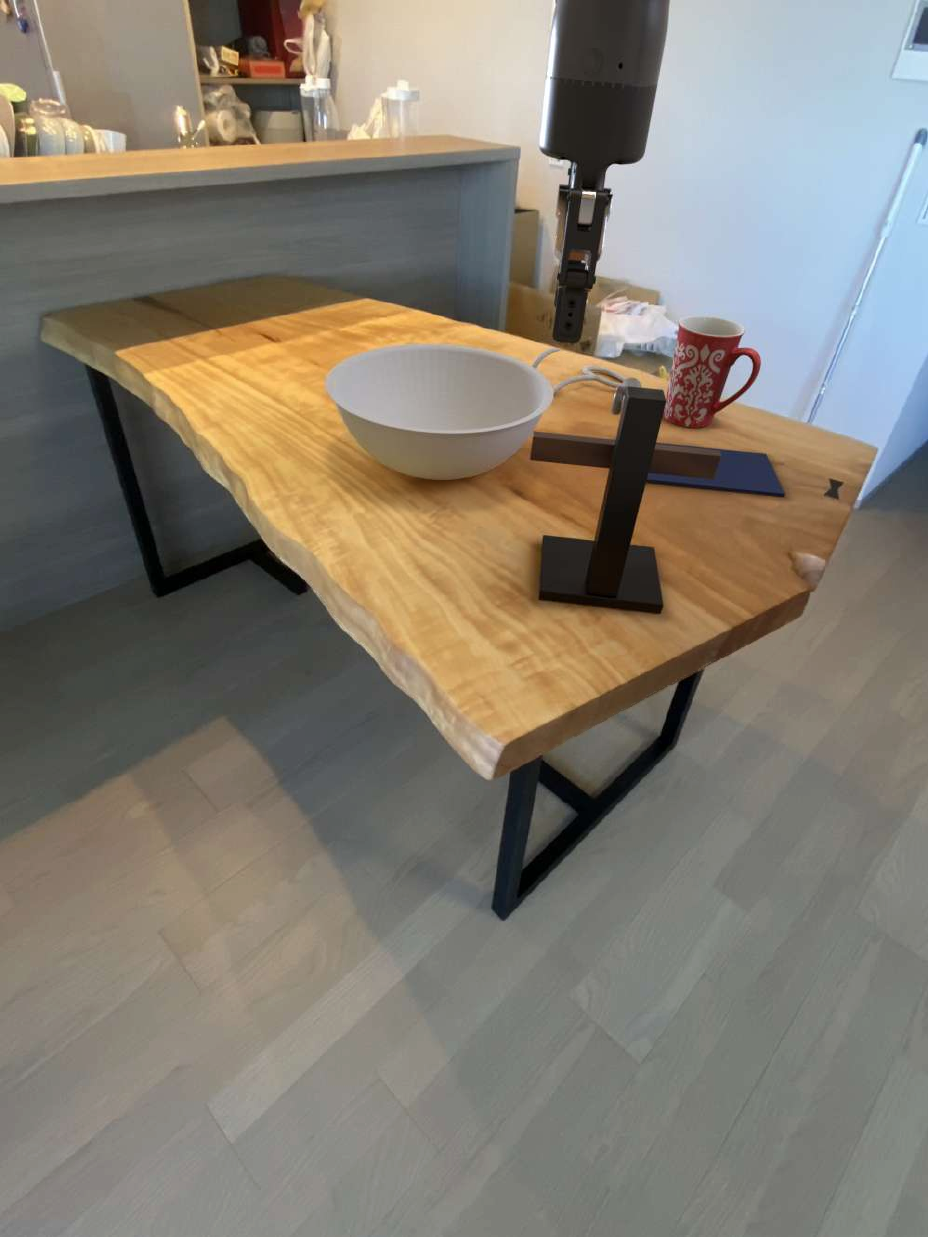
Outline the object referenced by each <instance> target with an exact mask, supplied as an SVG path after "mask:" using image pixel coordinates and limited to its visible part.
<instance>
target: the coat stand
mask: <svg viewBox="0 0 928 1237" xmlns="http://www.w3.org/2000/svg"><path fill="white" fill-rule="evenodd" d="M627 378H628V379H626V380H625V381H624V382H623V381H622V382H621V384H622V385H621V386H627V388H626V392H625V396H624V398H623V402H622V407H621V412H620V417H619V421H618V425H617V431H616V434H615V439H614V440H615V444H614V449H613V454H612V458H611V463H610V468H609V469H608V471H607V472H608V473H607V477H606V481H605V482H606V483H605V487H604V492H603V497H602V501H601V507H600V511H599V514H598V520H597V525H596V529H595V533H594V537H593V538H594V539H593V540H592V539H585V538H584V539H583V538H574V537H566V536H556V535H550V534H549V535H547V534H542V540H541V546H540V548H541V550H540V565H539V566H540V568H539V584H538V601H546V602H553V603H564V604H572V605H579V606H581V605H582V606H589V607H590V606H591V607H597V608H605V609H614V610H621V611H622V610H623V611H631V612H632V611H633V612H640V613H641V612H642V613H649V614H656V615H657V614H658V615H661V614H662V611H663V608H664V599H663V594H662V586H661V581H660V575H659V569H658V568H659V567H658V563H657V556H656V551H655V546H646V545H639V544H631V543H632V539H633V536H634V532H635V528H636V524H637V519H638V516H639V511H640V509H641V503H642V500H643V496H644V492H645V488H646V484H647V483H646V481H647V477H648V473H649V469H650V465H651V461H652V457H653V453H654V449H655V445H656V443H657V441H658V437H659V434H660V429H661V425H662V421H663V417H664V415H663V414H664V410H665V406H666V395H665V390H664V389H660V388H651V389H650V387H642V383H641V381H640V379H638V378H636V377H627ZM640 387H641V388H640Z"/></svg>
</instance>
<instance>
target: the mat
mask: <svg viewBox="0 0 928 1237" xmlns="http://www.w3.org/2000/svg"><path fill="white" fill-rule="evenodd" d="M656 444H662V445H671V446H681V447H691V448H700V449H710V450H719V452H720V454H721V459H720V462H719V465H718V468H717V471H716V474H715V477H714V479H703V478H694V477H684V476H675V475H665V474H656V473H648V477H647V481H646V484H655V485H667V486H676V487H684V488H693V489H703V490H711V491H712V490H713V491H721V492H732V493H742V494H751V495H758V496H759V495H761V496H767V497H769V496H770V497H777V498H779V497H780V498H784V497H785V496H786V492H785V490H784V488H783V486H782V484H781V481H780V480H779V478H778V476H777V473H776V471H775V469H774V467H773V465H772V462H771V461H770V459H769V456H768V454H767V453H762V452H752V451H743V450H735V449H724V448H715V447H714V448H713V447H706V446H705V447H704V446H702V447H701V446H694V445H693V446H692V445H685V444H684V445H683V444H675V443H667V442H666V443H664V442H656Z"/></svg>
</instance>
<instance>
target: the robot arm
mask: <svg viewBox="0 0 928 1237" xmlns="http://www.w3.org/2000/svg"><path fill="white" fill-rule="evenodd" d="M670 3H671V0H556V1H555V5H554V9H553V10H554V11H553V14H552V15H553V16H552V20H551V26H550V35H549V44H548V53H547V63H546V73H545V82H544V91H543V92H544V93H543V100H542V101H543V102H542V112H541V120H540V130H539V140H538V146H539V151H540V152H541V153H542V154H543V155H544V156H546V157H549V158H552V159H555V160H559V161H568V162H570V166H569V167H568V168H567V176H568V180H567V181H568V182H567V184H566V183H565V184H564V183H559V184H558V190H557V198H556V207H555V209H556V210H555V217H556V219H557V222H556V232H555V245H554V246H555V247H554V256H555V258H556V259H557V260H558V261H559V264H558V271H557V275H556V279H555V284H556V286H555V292H554V301H553V302H554V303H553V305H554V308H555V311H554V319H553V325H552V334H551V335H552V336H551V337H552V339H553V341H555V342H556V343H565V344H566V343H568V344H577V343H579V342H580V341H581V339H582V333H583V328H584V322H585V314H586V310H587V304H588V303H587V302H588V296H589V293H590V292H591V290H593V289H594V285H596V281H597V275H596V270H597V264H598V262H599V261H600V260H601V258H602V254H603V251H604V244H605V236H606V227H607V223H608V222H609V220H610V216H611V213H612V208H613V199H614V193H612V188H611V187H605V183H606V176H607V175H606V173H607V171H608V169H609V168H610V167H611V166H613V165H620V166H623V165H633V164H636V163H638V162H640V161H641V160H643V158H644V156H645V153H646V148H647V144H648V138H649V132H650V127H651V122H652V117H653V112H654V107H655V106H654V105H655V101H656V94H657V89H658V85H659V79H660V74H661V68H662V63H663V59H664V58H663V57H664V52H665V47H666V42H667V35H668V26H669V16H670Z"/></svg>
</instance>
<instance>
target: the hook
mask: <svg viewBox="0 0 928 1237" xmlns="http://www.w3.org/2000/svg"><path fill="white" fill-rule="evenodd" d="M560 351H563V348H559V347H552V348H549V349H547V350H544V351H543V352H541V353H540V354H539V355H538V356H537V357H536V358H535V360H534V361H533V362H532V365H531V366H532V367H533V368H535V369H537V368H538V366H540V364H541V363H542V361H543V360H544V359H546V358H547V357H548V356H549V355H552V354H554V353H557V352H560ZM582 372H583V374H584V375H576V376H572V377H569V378H567V379H564V380H563V381H561V382H560V383H557V385H555V386H554V387H553V391H554V394H556V393H557V392H559V391H561V389H563V388H564V387H566V386H568V385H572V384H574V383H577V382H584V381H586V382H587V381H595V382H598V383H600V384H602V385H604V386H607V387H610V388H614V389H616V388H617V387H618V386H621V385H622V383H623V382H624V381H625V380H626V379H628V378H629V377H627V376H625V375H622V374H620V373H619V372H617V371H614V370H612V369H610V368H607V367H603V366H599V365H586V366H584V367H583V368H582ZM594 372H599V373H603V374H606V375H608V376H611V377H612V378H615V379H616V380H619V381H621V382H622V383H620V382H615V381H611V380H609V379H606V378H604V377H602V376H599V375H596V374H595V373H594Z"/></svg>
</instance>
